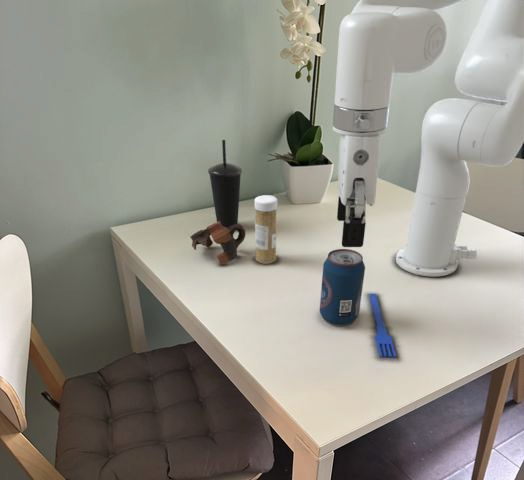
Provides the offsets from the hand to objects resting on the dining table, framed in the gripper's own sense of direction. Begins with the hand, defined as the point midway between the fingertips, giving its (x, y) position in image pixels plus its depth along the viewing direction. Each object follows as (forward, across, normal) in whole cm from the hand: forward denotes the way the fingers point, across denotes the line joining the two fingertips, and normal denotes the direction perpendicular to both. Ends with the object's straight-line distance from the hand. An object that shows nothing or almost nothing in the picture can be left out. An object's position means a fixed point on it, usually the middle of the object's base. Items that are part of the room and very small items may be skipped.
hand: (349, 232), depth 81 cm
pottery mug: (+16, +23, +24) cm, 37 cm away
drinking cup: (+16, +38, +24) cm, 48 cm away
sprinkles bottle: (+16, +21, +14) cm, 30 cm away
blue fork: (+16, -3, -6) cm, 17 cm away
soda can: (+16, -1, 0) cm, 16 cm away
